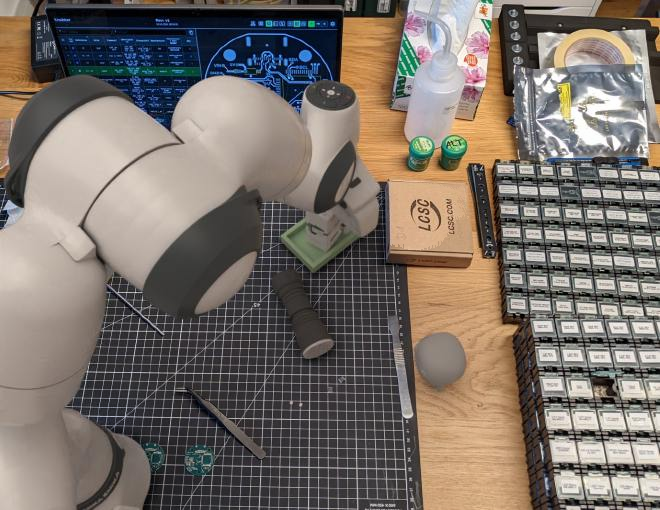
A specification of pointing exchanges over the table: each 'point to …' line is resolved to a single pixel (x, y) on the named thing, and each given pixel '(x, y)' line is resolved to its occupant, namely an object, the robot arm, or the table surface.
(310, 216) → the ink box
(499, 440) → the table surface
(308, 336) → the flashlight
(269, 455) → the table surface
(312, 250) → the tray
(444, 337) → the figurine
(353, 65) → the table surface
